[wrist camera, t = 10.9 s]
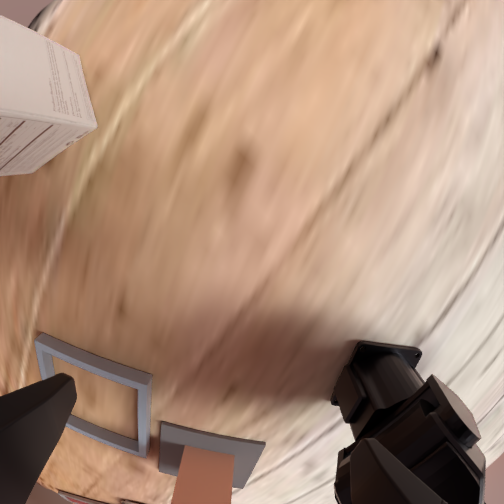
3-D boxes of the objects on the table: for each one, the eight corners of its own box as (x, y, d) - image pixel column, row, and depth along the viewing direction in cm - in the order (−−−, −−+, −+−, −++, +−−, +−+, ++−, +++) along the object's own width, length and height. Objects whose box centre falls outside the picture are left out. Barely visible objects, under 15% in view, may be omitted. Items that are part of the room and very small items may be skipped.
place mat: (265, 442, 24) (265, 445, 24) (243, 486, 26) (242, 488, 26) (162, 421, 24) (161, 423, 23) (159, 469, 26) (158, 471, 26)
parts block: (234, 455, 24) (228, 529, 15) (225, 476, 25) (219, 542, 17) (185, 445, 24) (167, 517, 15) (181, 467, 25) (166, 532, 16)
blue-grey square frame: (152, 374, 22) (147, 385, 21) (149, 448, 25) (146, 458, 24) (42, 332, 22) (34, 339, 20) (58, 412, 24) (53, 419, 23)
